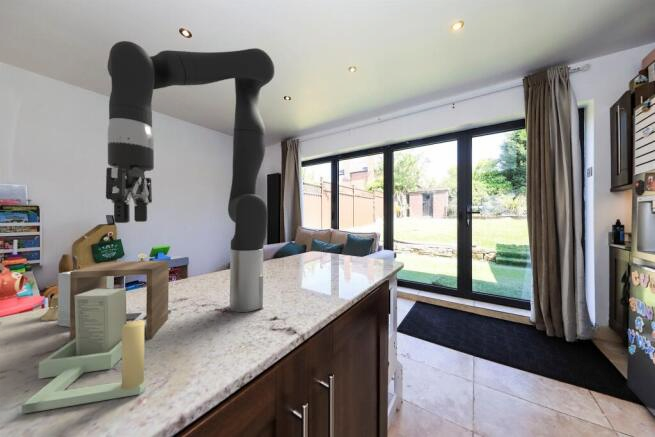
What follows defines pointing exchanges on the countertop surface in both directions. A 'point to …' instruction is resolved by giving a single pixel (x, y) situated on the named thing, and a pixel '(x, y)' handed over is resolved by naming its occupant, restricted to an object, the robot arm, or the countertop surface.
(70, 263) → the hand bell
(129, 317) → the pair of grey pads
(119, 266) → the brown hollow box
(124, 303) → the skincare box
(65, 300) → the supplement box
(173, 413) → the countertop surface
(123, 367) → the green zigzag lever
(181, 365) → the countertop surface
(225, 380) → the countertop surface
